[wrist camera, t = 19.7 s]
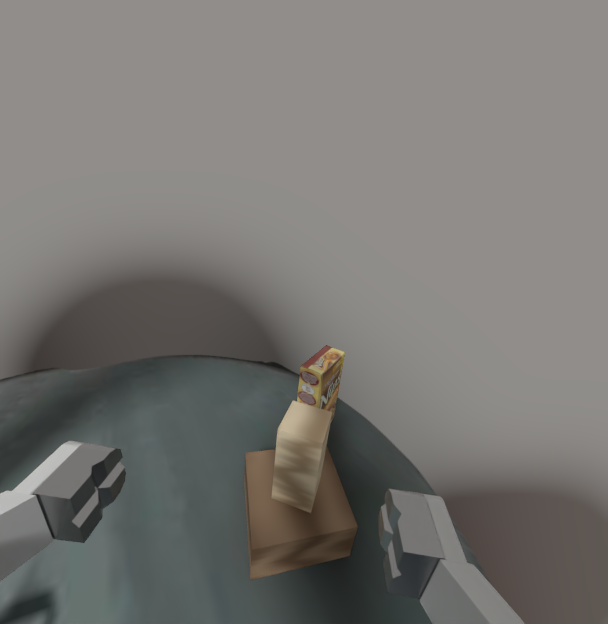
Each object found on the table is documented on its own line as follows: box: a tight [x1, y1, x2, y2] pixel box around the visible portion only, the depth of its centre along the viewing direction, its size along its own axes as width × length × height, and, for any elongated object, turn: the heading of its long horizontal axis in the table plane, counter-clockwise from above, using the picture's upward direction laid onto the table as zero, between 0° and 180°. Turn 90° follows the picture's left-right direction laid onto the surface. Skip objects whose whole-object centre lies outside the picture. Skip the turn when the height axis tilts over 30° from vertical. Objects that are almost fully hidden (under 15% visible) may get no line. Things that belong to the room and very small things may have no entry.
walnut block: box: [244, 445, 358, 580], centre depth 38 cm, size 12×12×6 cm
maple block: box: [271, 401, 333, 513], centre depth 34 cm, size 5×5×11 cm
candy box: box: [297, 345, 345, 422], centre depth 50 cm, size 9×4×15 cm, turn 148°
